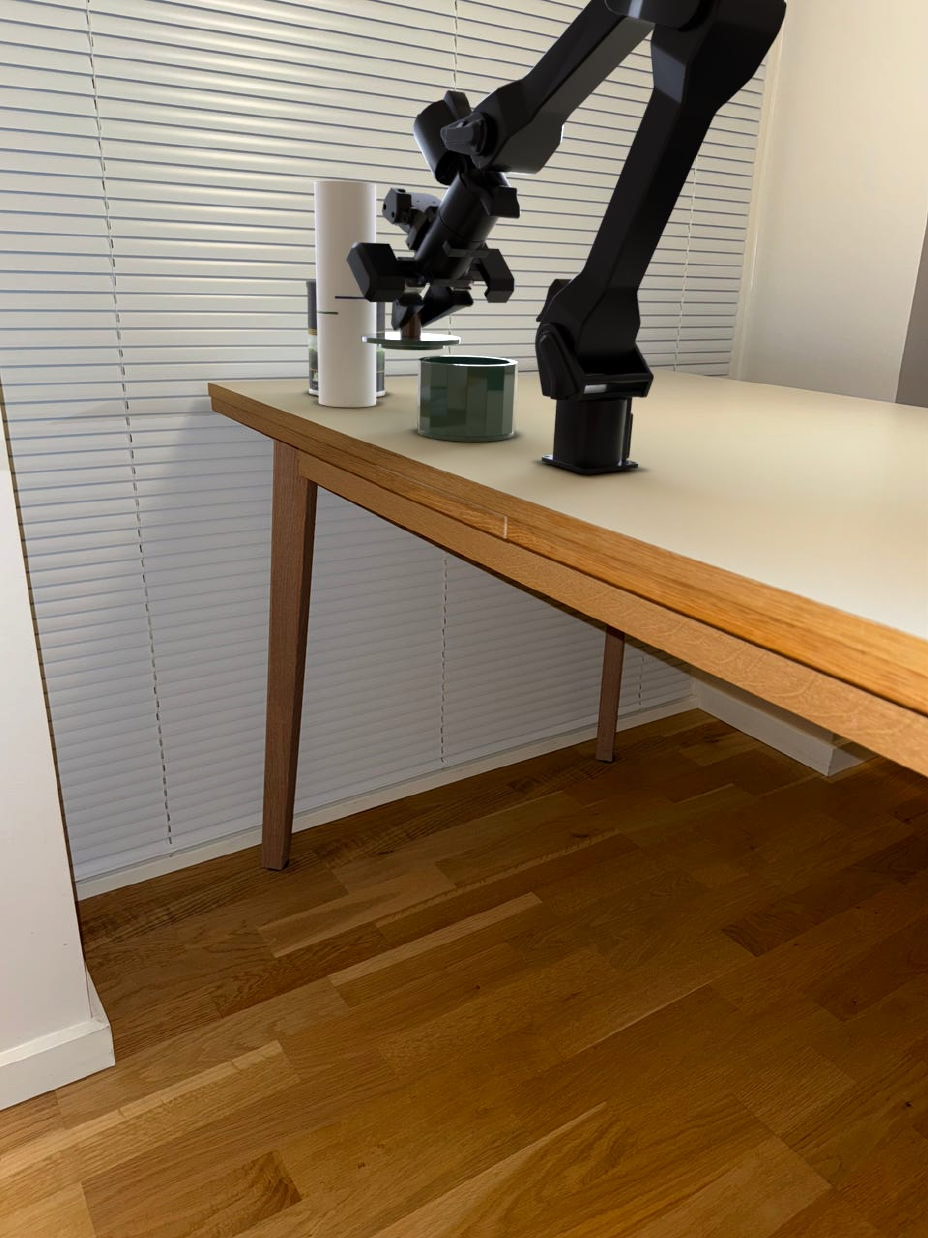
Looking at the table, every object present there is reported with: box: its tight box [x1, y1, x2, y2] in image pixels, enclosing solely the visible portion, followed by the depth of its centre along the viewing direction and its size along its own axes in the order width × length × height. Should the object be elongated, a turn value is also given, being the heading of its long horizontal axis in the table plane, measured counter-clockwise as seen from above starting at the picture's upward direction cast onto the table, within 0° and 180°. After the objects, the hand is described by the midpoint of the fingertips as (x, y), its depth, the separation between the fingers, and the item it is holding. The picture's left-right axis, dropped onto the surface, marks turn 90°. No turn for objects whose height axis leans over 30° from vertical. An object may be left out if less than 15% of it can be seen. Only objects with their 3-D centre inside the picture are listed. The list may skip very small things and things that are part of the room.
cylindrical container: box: [313, 180, 377, 408], centre depth 112 cm, size 7×7×25 cm
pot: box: [416, 355, 519, 443], centre depth 98 cm, size 10×10×8 cm
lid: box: [361, 294, 461, 351], centre depth 104 cm, size 11×11×6 cm
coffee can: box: [305, 279, 386, 398], centre depth 122 cm, size 10×10×14 cm
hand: (404, 327), depth 106 cm, fingers closed on lid, 2 cm apart
